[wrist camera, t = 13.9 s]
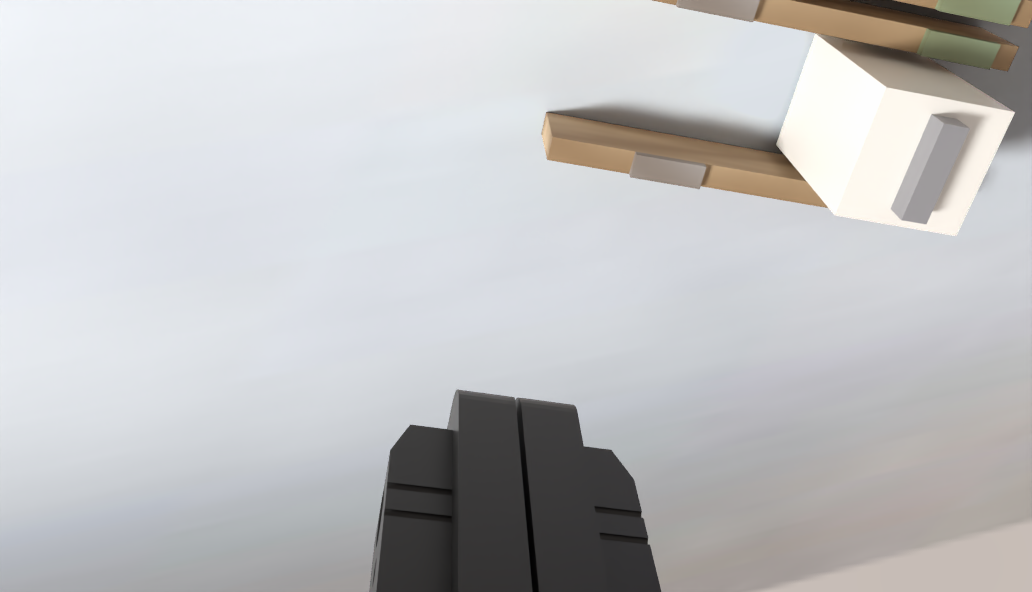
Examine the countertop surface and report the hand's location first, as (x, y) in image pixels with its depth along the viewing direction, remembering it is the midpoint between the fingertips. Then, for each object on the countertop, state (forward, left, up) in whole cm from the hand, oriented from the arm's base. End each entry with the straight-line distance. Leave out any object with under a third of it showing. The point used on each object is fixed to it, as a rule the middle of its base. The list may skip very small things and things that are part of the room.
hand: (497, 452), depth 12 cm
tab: (0, +13, -22) cm, 26 cm away
